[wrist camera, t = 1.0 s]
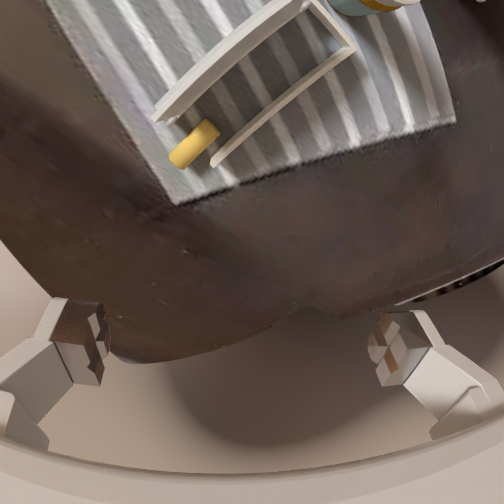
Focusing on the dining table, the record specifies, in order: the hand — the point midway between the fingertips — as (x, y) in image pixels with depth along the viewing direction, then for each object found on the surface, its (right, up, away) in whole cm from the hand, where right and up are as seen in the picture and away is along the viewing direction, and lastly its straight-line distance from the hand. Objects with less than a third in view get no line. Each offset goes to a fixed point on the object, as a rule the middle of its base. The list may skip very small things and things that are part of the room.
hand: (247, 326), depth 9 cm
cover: (-2, +23, +20) cm, 30 cm away
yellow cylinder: (-7, +17, +34) cm, 38 cm away
